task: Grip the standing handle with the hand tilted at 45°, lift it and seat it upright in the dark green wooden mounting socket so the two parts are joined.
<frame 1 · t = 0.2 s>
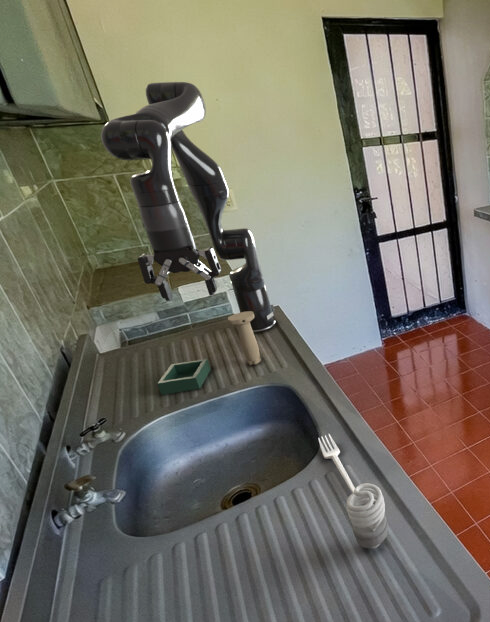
hand: (191, 296, 101), 29 cm above the table, tool pointing down, fingers open, 8 cm apart
fork: (340, 469, 91), on the table
light bulb: (374, 546, 75), on the table
socket: (187, 381, 123), on the table
handle: (255, 363, 131), on the table
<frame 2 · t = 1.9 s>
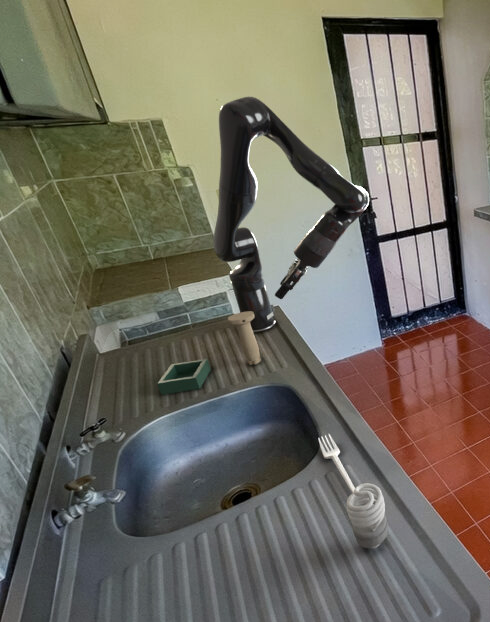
hand: (280, 291, 124), 21 cm above the table, tool tilted 45°, fingers open, 8 cm apart
nothing on the table moved.
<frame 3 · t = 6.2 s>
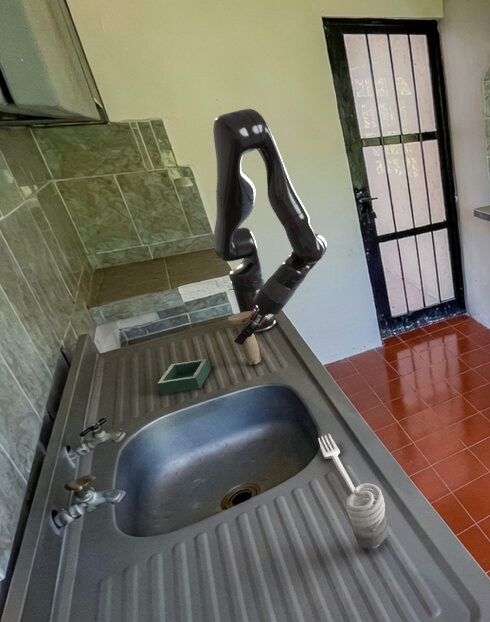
hand: (239, 339, 127), 8 cm above the table, tool tilted 45°, fingers closed on handle, 3 cm apart
handle: (255, 363, 131), on the table, touching gripper
everything else where it was.
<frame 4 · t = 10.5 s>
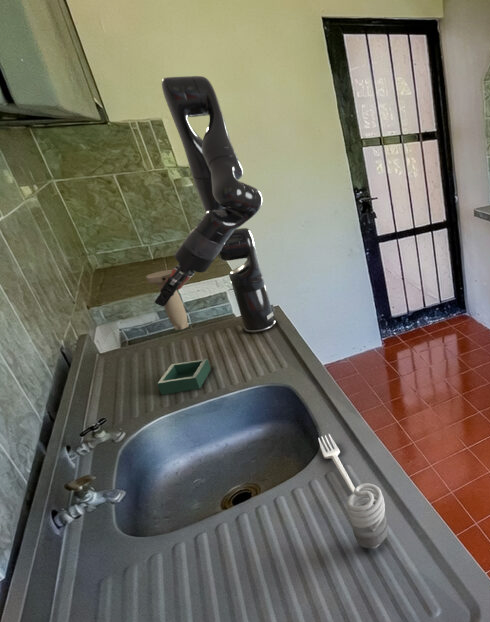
hand: (162, 300, 114), 23 cm above the table, tool tilted 45°, fingers closed on handle, 3 cm apart
handle: (182, 328, 118), point 15 cm above the table, touching gripper
everything else where it was.
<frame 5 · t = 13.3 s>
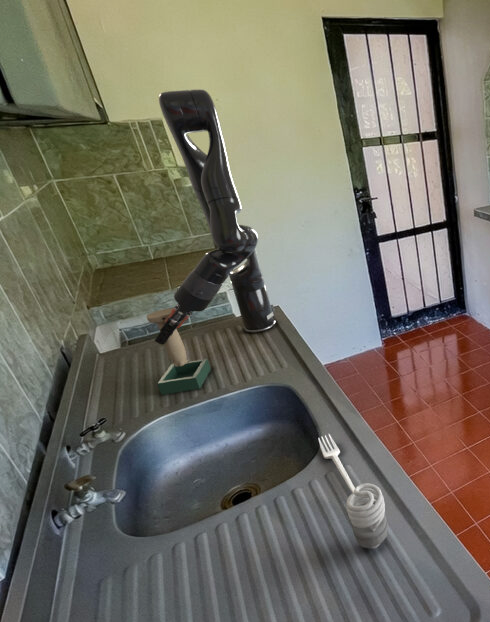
hand: (162, 338, 117), 14 cm above the table, tool tilted 45°, fingers closed on handle, 3 cm apart
handle: (181, 364, 121), point 5 cm above the table, touching gripper
everything else where it was.
when the fingers open (9 cm above the table, at t = 15.1 s): handle stays where it is, resting on socket.
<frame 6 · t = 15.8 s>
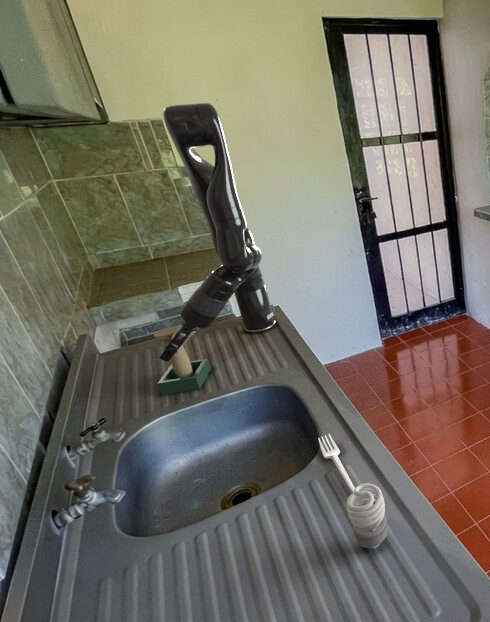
hand: (170, 351, 119), 10 cm above the table, tool tilted 45°, fingers open, 8 cm apart
handle: (187, 380, 123), resting on socket
everything else where it was.
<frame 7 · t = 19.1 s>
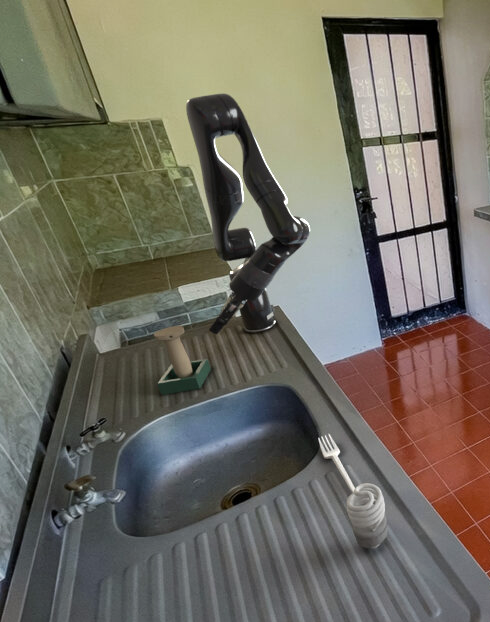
hand: (217, 324, 119), 15 cm above the table, tool tilted 45°, fingers open, 8 cm apart
nothing on the table moved.
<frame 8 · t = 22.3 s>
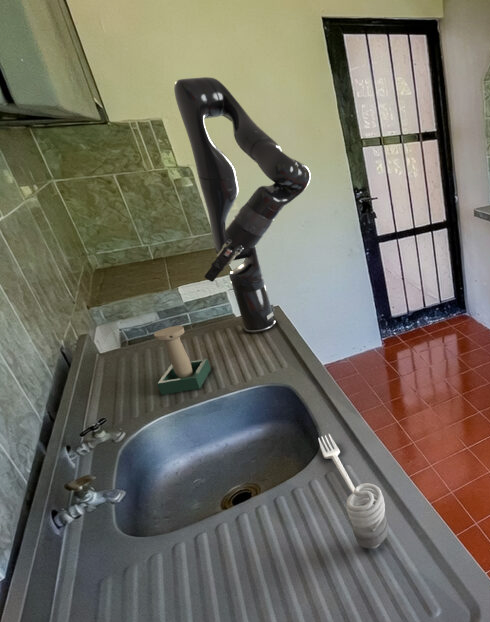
hand: (213, 273, 115), 29 cm above the table, tool tilted 45°, fingers open, 8 cm apart
nothing on the table moved.
at the end: handle 0.2 cm off-centre in the socket, point 0.3 cm above the socket's base; handle tilted 0°; the gripper is holding nothing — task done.
